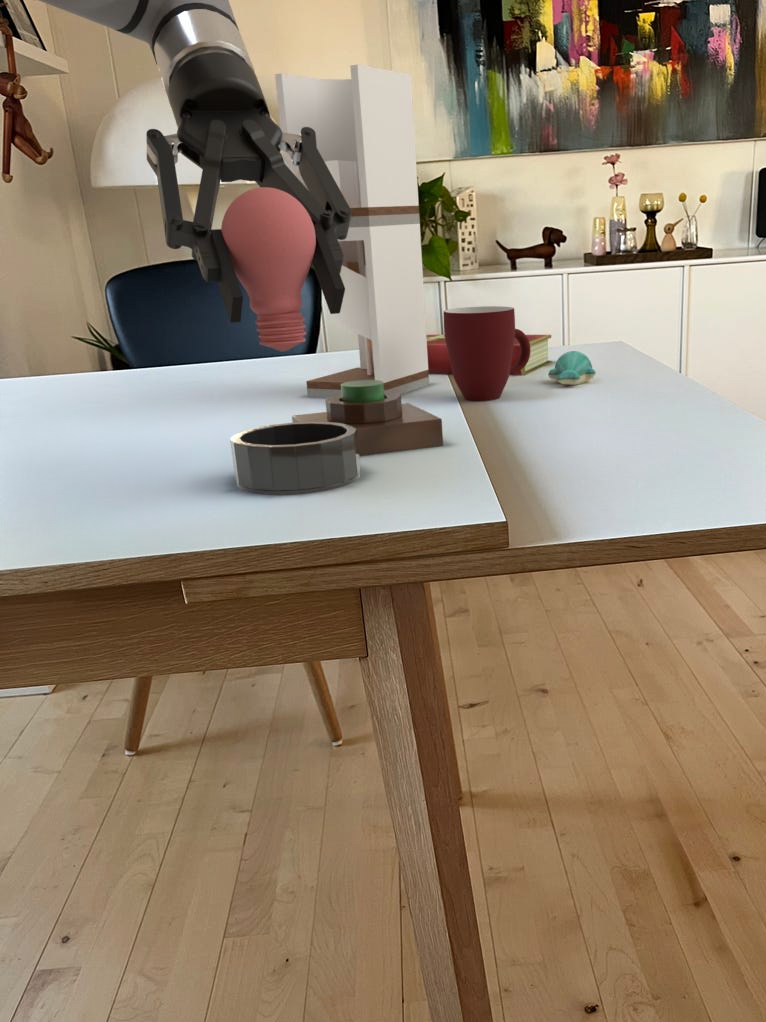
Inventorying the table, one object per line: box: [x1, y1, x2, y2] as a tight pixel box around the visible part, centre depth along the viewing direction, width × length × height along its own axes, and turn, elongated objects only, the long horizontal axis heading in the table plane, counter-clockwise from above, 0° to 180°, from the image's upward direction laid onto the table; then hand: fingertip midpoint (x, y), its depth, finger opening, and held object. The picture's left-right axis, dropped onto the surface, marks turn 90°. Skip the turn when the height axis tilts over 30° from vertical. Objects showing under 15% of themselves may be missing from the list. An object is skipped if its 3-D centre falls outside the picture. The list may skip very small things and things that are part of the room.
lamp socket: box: [229, 422, 361, 496], centre depth 87 cm, size 10×10×4 cm
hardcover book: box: [426, 334, 553, 376], centre depth 144 cm, size 12×21×4 cm, turn 69°
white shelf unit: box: [274, 64, 430, 399], centre depth 123 cm, size 11×11×35 cm
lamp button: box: [341, 380, 385, 402], centre depth 98 cm, size 4×4×2 cm
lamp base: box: [291, 392, 444, 457], centre depth 99 cm, size 12×10×4 cm
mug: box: [443, 305, 530, 402], centre depth 120 cm, size 10×8×10 cm
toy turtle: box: [548, 350, 597, 386], centre depth 128 cm, size 6×7×4 cm
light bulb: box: [220, 187, 316, 352], centre depth 81 cm, size 7×7×12 cm
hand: (288, 305), depth 79 cm, fingers closed on light bulb, 7 cm apart
